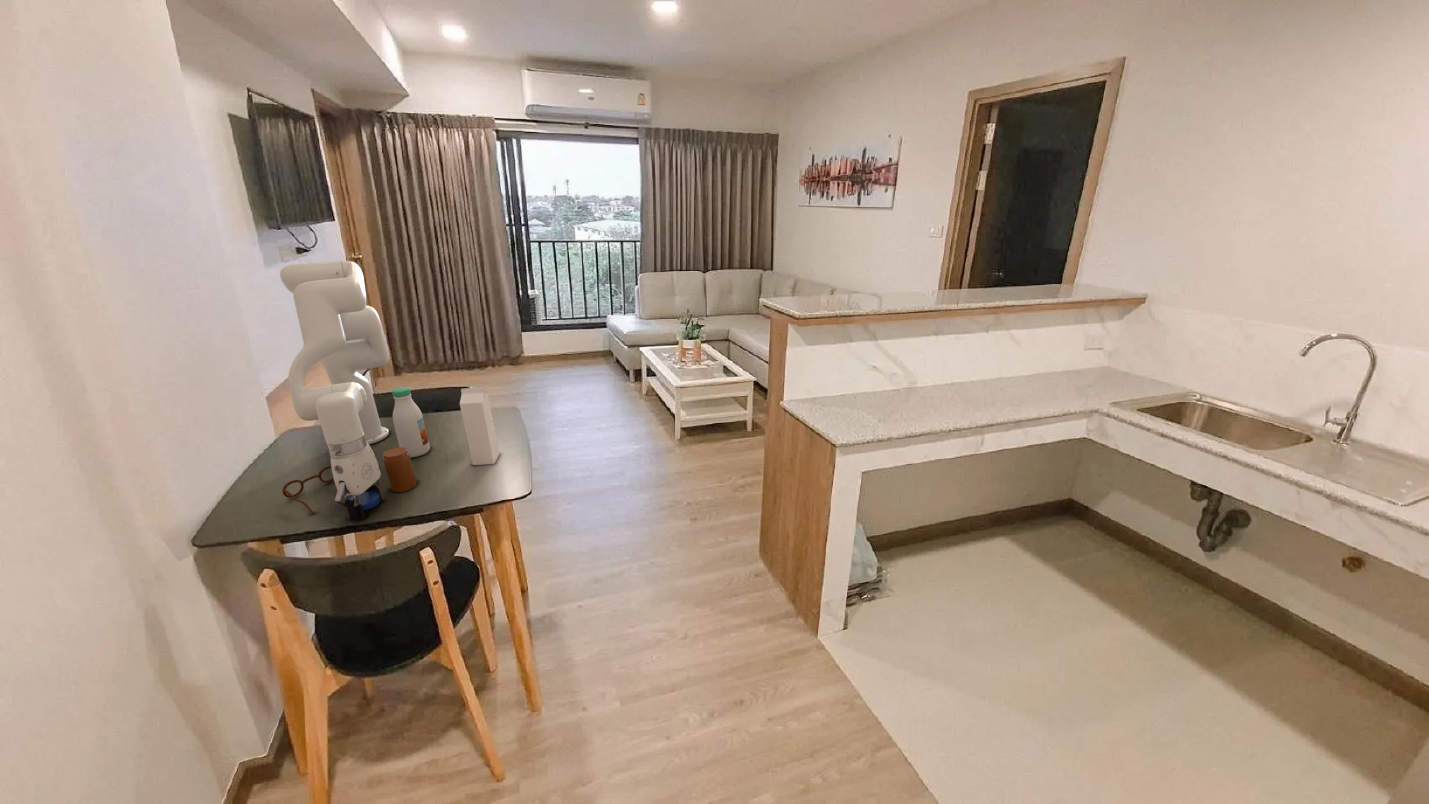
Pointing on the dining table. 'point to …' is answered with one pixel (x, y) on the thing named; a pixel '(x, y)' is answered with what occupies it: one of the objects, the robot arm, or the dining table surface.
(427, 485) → the dining table surface
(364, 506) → the lid
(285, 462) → the dining table surface
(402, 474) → the jar
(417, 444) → the milk bottle
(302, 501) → the glasses
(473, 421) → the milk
